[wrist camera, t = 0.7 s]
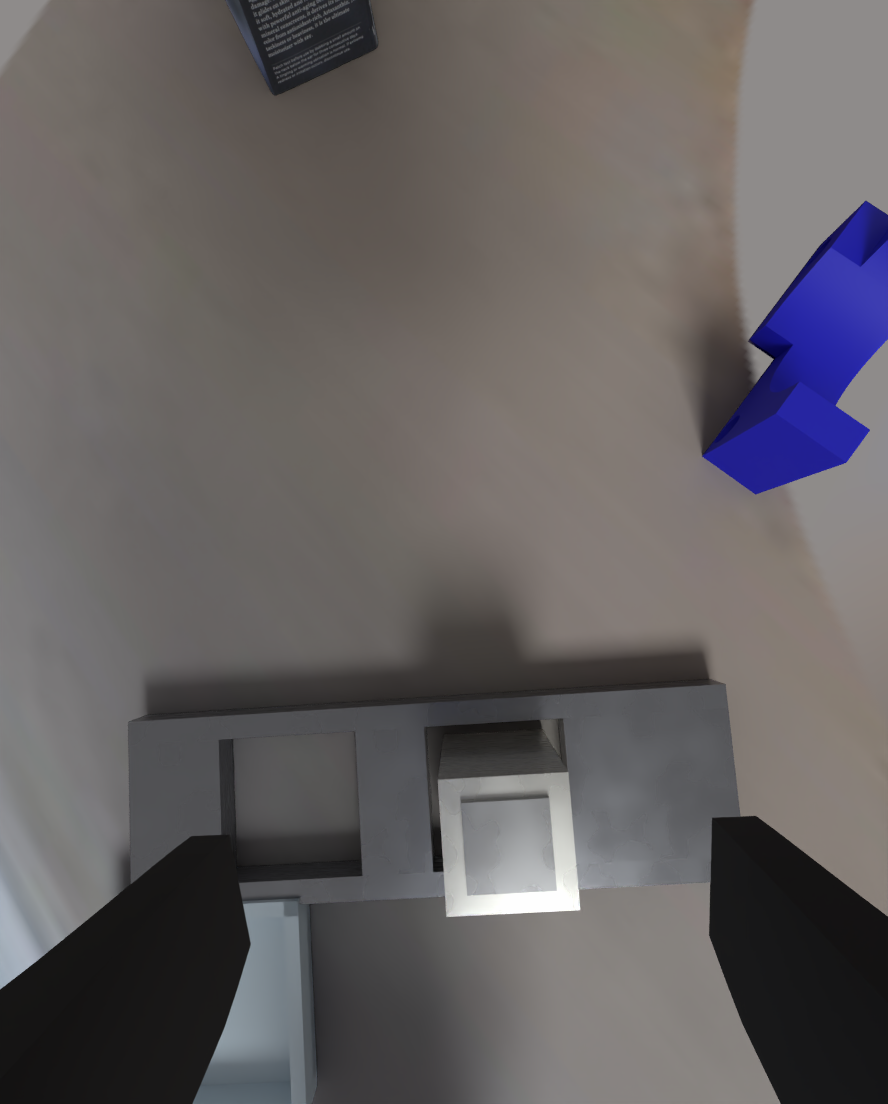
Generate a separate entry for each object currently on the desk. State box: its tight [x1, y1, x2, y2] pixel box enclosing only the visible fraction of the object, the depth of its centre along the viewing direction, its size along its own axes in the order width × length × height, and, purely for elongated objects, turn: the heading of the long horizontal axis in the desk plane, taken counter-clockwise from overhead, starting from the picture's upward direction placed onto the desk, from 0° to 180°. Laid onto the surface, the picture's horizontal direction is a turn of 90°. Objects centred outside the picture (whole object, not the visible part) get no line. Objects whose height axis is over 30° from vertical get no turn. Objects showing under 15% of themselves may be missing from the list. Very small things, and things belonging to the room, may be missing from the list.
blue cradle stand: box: [702, 201, 888, 494], centre depth 22 cm, size 12×4×6 cm, turn 142°
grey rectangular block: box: [438, 729, 580, 917], centre depth 21 cm, size 4×4×6 cm
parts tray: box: [193, 898, 317, 1104], centre depth 23 cm, size 8×8×2 cm
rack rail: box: [128, 679, 740, 904], centre depth 23 cm, size 8×26×1 cm, turn 94°
